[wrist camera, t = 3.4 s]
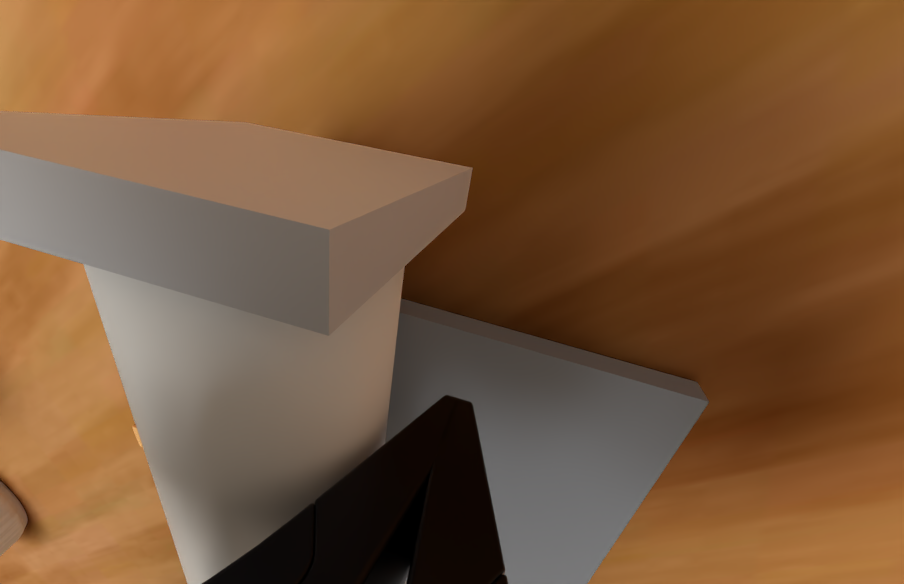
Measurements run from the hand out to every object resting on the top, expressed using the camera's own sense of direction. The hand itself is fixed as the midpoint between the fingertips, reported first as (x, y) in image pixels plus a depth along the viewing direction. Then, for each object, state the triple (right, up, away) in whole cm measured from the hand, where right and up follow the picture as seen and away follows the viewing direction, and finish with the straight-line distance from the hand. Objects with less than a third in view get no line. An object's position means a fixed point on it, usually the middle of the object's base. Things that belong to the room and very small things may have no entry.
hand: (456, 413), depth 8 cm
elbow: (-3, -2, +3) cm, 5 cm away
